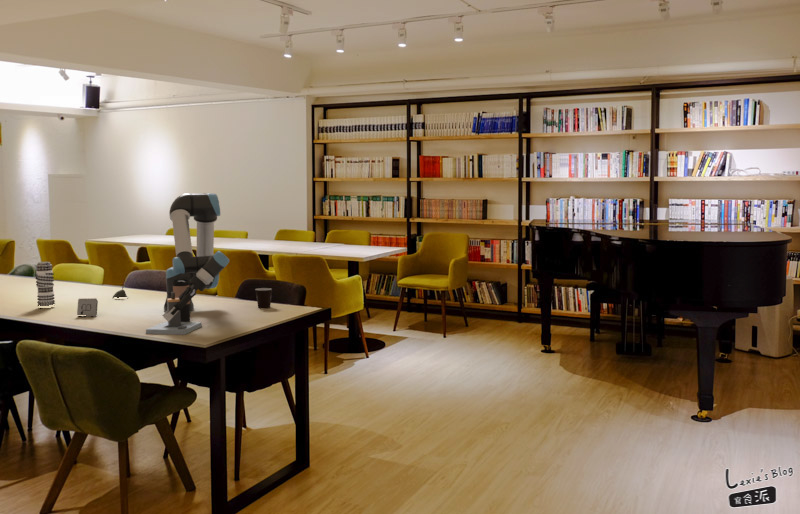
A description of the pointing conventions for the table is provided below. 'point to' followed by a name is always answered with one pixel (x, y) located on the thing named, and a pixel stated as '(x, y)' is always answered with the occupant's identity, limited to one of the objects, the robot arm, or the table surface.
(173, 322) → the plug
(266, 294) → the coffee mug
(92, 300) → the electrical switch
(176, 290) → the travel mug
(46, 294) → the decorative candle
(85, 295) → the table surface
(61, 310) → the table surface
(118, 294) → the sword in stone
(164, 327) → the socket plate
